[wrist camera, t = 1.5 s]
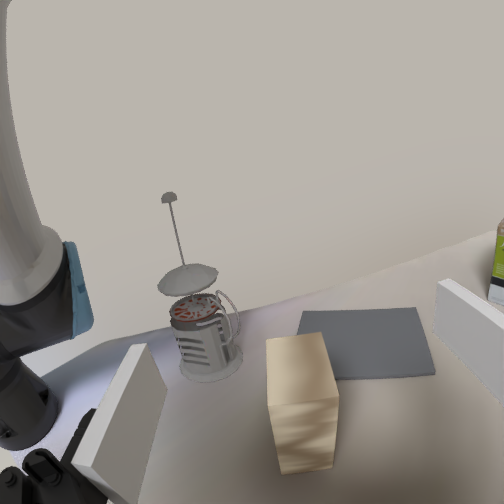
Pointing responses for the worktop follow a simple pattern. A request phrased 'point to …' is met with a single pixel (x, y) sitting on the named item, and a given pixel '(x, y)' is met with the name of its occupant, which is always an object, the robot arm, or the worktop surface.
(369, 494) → the worktop surface
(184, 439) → the worktop surface
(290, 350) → the birch block
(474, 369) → the robot arm
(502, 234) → the tea box
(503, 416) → the worktop surface
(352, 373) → the mat
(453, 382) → the worktop surface
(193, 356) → the french press
